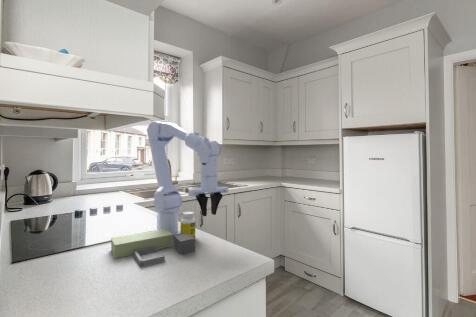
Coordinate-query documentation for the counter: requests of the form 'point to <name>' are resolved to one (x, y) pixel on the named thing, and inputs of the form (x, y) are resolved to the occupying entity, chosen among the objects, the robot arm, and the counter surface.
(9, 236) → the counter surface
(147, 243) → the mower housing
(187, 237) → the chute block
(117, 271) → the counter surface
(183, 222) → the supplement bottle
